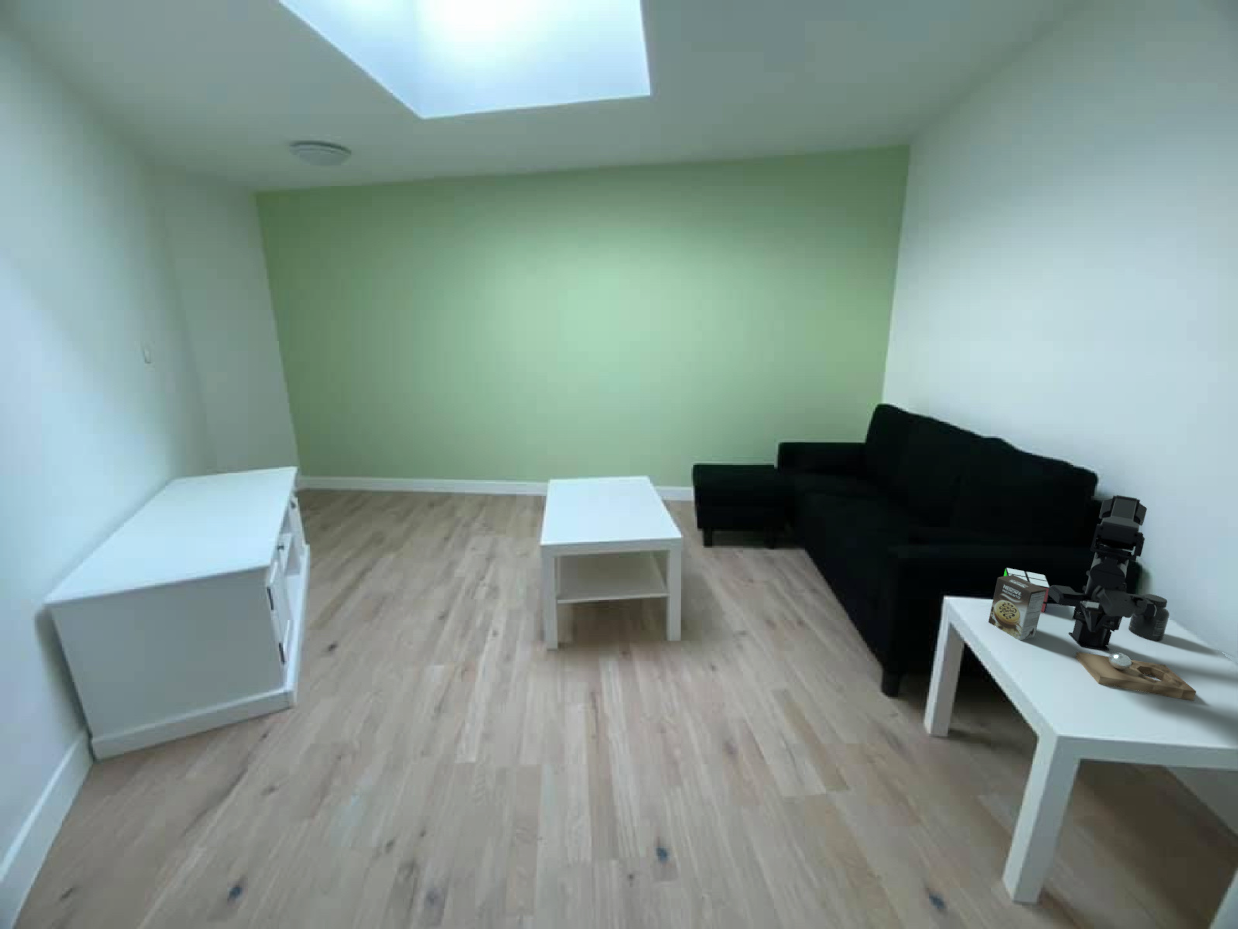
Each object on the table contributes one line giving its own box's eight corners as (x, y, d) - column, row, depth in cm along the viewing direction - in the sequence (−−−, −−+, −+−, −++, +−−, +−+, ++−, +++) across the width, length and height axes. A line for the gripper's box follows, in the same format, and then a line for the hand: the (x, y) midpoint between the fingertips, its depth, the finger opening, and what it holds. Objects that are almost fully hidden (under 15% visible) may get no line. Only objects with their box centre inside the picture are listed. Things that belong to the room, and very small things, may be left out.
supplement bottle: (1157, 634, 141) (1168, 595, 138) (1165, 646, 135) (1178, 606, 132) (1123, 626, 145) (1134, 589, 142) (1131, 638, 139) (1142, 599, 136)
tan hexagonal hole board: (1097, 685, 120) (1100, 676, 120) (1074, 660, 129) (1076, 652, 129) (1193, 700, 115) (1196, 691, 114) (1162, 673, 124) (1164, 664, 124)
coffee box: (985, 627, 144) (996, 576, 140) (1001, 623, 146) (1012, 573, 142) (1018, 645, 136) (1030, 592, 132) (1035, 641, 138) (1047, 588, 134)
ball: (1113, 671, 121) (1117, 657, 120) (1103, 661, 125) (1106, 647, 124) (1133, 674, 120) (1137, 660, 119) (1122, 664, 124) (1126, 650, 123)
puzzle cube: (1044, 618, 149) (1051, 588, 147) (1002, 609, 154) (1008, 579, 152) (1038, 603, 157) (1045, 574, 155) (999, 595, 162) (1005, 567, 160)
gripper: (1078, 583, 114) (1063, 643, 117) (1183, 595, 108) (1163, 657, 112) (1053, 562, 124) (1040, 618, 128) (1147, 572, 119) (1130, 630, 122)
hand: (1091, 631), depth 122 cm, fingers closed
